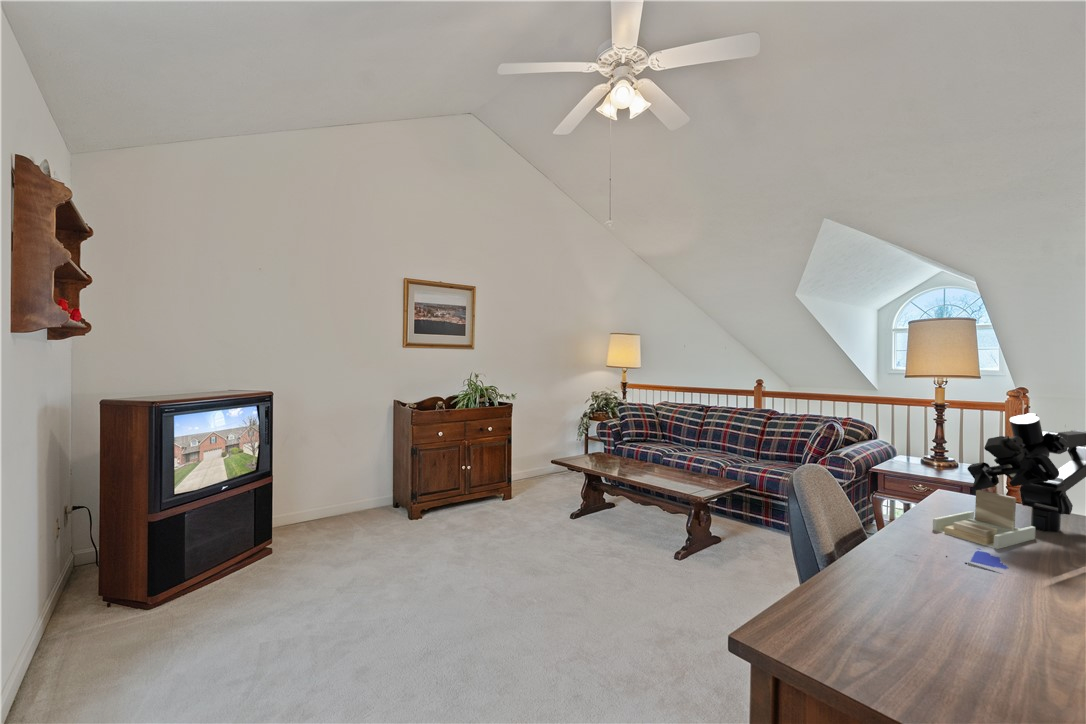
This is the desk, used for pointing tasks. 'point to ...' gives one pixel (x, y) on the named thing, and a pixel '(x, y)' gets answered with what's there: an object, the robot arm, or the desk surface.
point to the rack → (1003, 534)
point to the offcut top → (975, 528)
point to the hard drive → (986, 561)
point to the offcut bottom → (969, 535)
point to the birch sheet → (995, 509)
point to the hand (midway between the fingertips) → (992, 486)
